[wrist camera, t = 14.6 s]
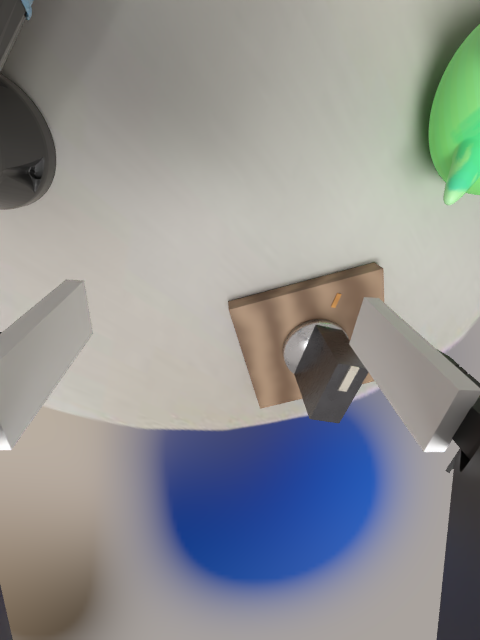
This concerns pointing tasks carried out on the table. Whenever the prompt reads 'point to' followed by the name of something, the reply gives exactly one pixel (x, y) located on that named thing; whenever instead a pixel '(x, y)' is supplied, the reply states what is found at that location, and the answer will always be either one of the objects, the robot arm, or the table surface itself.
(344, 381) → the dial
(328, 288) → the dial panel
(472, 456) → the robot arm
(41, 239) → the table surface
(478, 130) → the toy bird
